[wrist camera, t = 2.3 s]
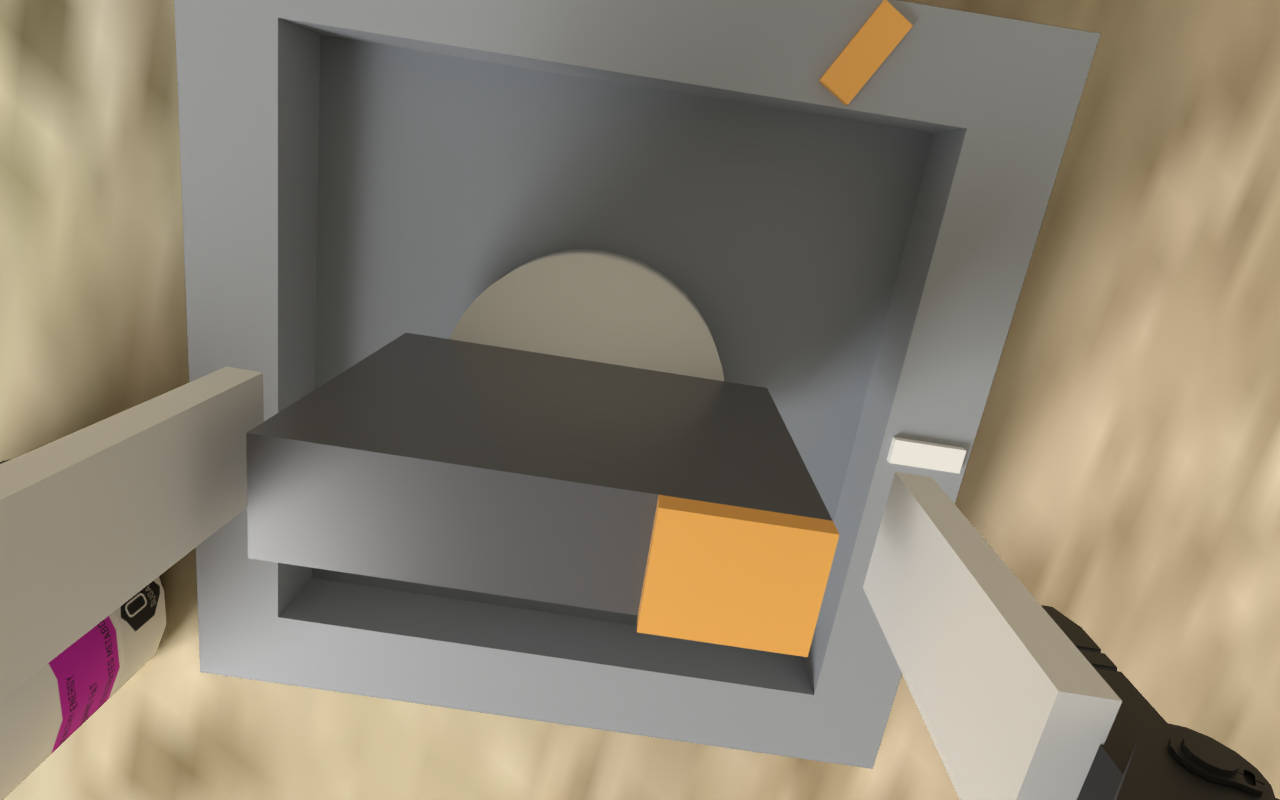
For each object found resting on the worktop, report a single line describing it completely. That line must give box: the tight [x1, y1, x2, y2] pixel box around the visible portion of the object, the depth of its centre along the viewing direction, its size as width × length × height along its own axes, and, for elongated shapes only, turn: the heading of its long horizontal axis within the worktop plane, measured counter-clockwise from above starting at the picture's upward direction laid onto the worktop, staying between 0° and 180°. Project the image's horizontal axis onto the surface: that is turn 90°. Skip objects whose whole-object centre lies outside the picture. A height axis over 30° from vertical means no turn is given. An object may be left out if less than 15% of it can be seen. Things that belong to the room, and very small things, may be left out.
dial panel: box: [174, 0, 1100, 769], centre depth 22 cm, size 22×22×4 cm
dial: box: [246, 249, 839, 657], centre depth 17 cm, size 10×8×10 cm
